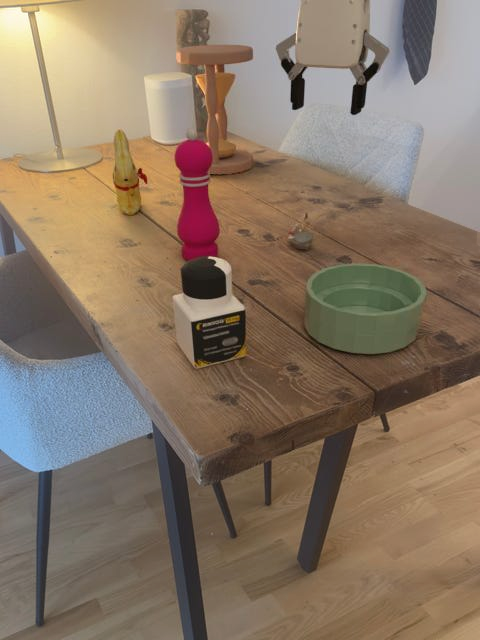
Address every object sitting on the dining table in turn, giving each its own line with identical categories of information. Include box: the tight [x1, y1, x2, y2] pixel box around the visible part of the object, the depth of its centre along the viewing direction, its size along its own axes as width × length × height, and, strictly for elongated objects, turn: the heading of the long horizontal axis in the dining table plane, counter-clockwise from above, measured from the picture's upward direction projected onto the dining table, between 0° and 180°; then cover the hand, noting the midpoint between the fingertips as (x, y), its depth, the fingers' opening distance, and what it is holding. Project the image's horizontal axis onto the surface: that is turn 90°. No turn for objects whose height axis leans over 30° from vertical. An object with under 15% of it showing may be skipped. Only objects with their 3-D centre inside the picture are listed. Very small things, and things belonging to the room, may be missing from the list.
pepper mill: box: [174, 128, 221, 261], centre depth 92 cm, size 7×7×20 cm
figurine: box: [287, 212, 315, 251], centre depth 99 cm, size 5×4×6 cm
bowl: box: [303, 262, 428, 355], centre depth 76 cm, size 15×15×6 cm
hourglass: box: [175, 44, 255, 176], centre depth 136 cm, size 18×18×25 cm
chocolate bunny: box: [112, 129, 148, 216], centre depth 114 cm, size 7×11×15 cm, turn 11°
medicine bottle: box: [171, 256, 247, 370], centre depth 70 cm, size 7×7×12 cm
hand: (326, 110), depth 88 cm, fingers open, 9 cm apart
